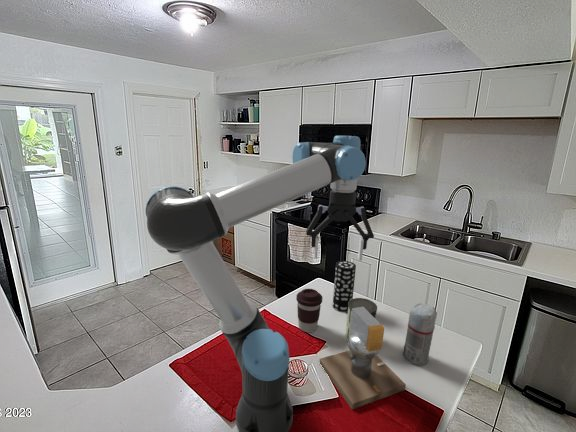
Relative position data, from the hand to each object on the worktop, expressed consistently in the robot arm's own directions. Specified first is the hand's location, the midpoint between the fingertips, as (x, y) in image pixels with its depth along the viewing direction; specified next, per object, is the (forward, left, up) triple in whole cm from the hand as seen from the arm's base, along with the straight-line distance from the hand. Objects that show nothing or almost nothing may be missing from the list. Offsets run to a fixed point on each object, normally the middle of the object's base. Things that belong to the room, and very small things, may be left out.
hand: (337, 257), depth 98 cm
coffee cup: (+1, +18, -37) cm, 41 cm away
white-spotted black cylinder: (+22, +26, -37) cm, 50 cm away
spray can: (+28, -11, -37) cm, 48 cm away
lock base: (+5, -11, -37) cm, 39 cm away
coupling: (+5, -11, -26) cm, 29 cm away
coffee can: (+16, +5, -37) cm, 41 cm away
